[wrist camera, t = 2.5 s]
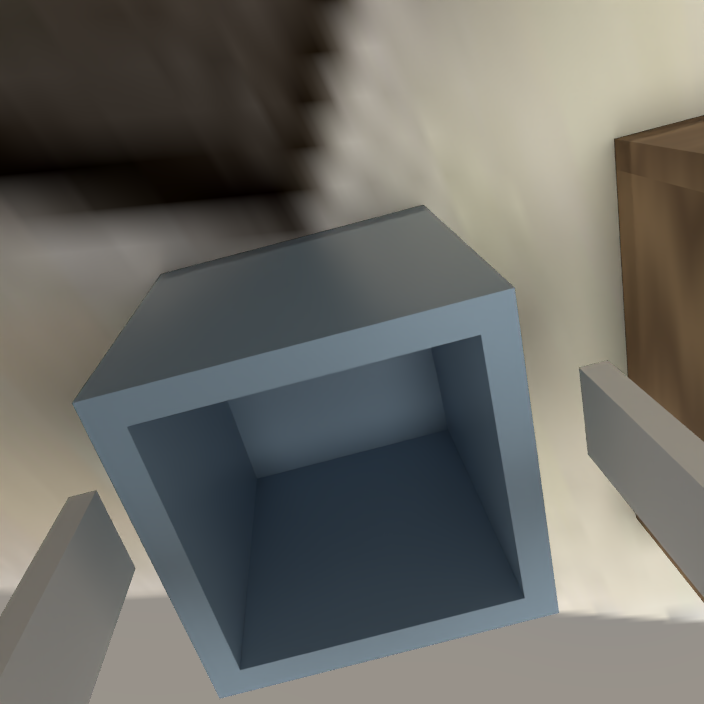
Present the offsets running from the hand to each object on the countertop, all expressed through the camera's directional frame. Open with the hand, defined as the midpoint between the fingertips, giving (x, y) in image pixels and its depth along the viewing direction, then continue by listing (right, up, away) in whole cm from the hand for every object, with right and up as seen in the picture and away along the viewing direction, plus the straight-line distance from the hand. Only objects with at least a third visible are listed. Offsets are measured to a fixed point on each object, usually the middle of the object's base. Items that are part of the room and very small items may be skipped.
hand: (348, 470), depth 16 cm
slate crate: (-1, +3, +6) cm, 7 cm away
